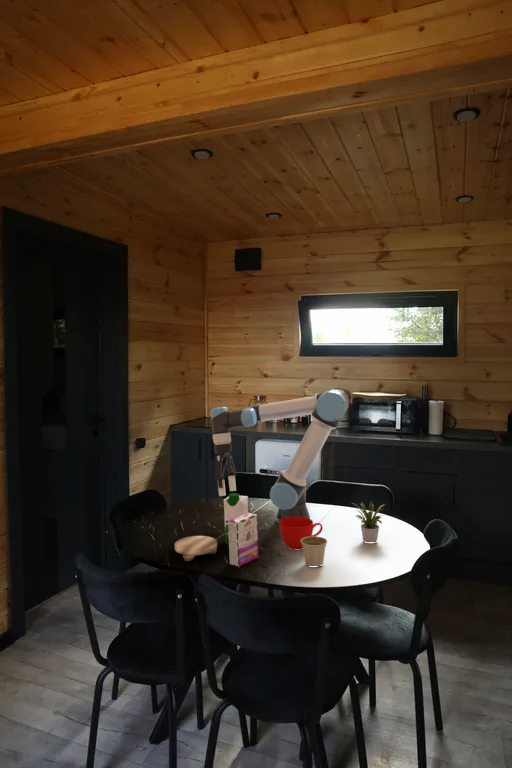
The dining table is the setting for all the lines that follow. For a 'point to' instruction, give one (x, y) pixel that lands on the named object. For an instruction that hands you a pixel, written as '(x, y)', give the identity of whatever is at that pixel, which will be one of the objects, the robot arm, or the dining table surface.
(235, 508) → the soya milk
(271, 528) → the dining table surface
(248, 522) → the candy bar box
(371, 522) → the house plant
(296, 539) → the ceramic cup
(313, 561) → the flower pot
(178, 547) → the stand
